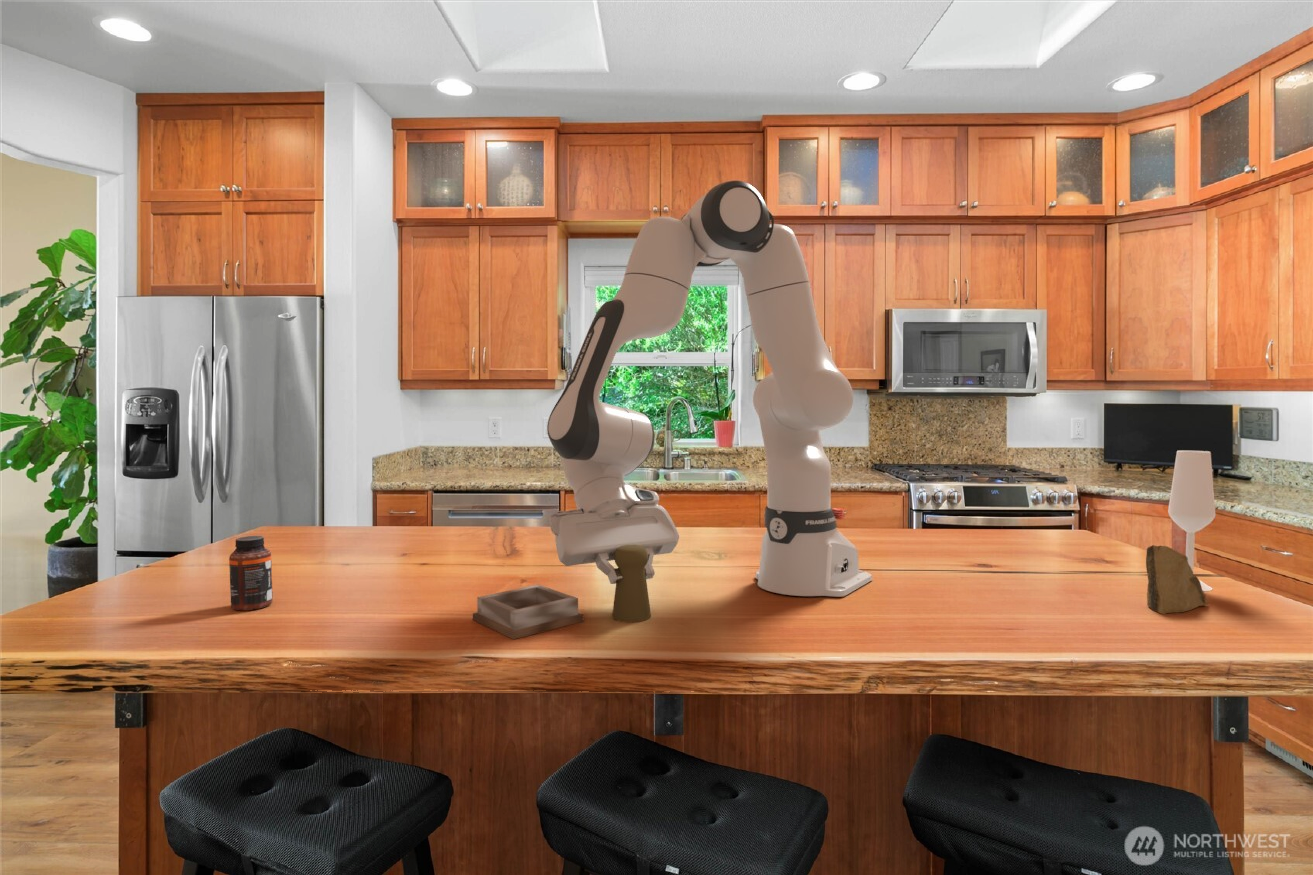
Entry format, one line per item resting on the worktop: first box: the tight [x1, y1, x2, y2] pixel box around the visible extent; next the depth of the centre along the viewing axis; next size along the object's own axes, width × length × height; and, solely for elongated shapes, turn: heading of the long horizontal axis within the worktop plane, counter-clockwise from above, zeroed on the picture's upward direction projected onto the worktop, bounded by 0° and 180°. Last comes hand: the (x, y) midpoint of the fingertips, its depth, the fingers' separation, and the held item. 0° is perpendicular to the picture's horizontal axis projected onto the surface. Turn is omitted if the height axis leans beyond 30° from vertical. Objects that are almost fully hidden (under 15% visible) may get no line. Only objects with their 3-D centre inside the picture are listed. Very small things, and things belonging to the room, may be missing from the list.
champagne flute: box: [1167, 450, 1217, 592], centre depth 125 cm, size 7×7×24 cm
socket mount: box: [472, 584, 584, 640], centre depth 107 cm, size 12×12×4 cm
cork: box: [611, 545, 652, 623], centre depth 109 cm, size 6×6×11 cm
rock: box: [1145, 544, 1209, 615], centre depth 112 cm, size 11×9×10 cm
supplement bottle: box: [228, 535, 273, 611], centre depth 115 cm, size 6×6×11 cm
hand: (633, 579), depth 108 cm, fingers open, 4 cm apart
